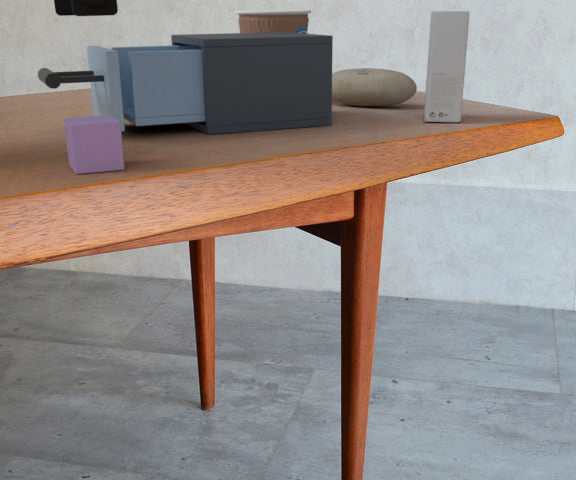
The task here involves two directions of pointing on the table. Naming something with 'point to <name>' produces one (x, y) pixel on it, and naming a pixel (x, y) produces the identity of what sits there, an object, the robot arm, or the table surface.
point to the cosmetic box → (446, 66)
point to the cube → (94, 144)
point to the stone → (372, 87)
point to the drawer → (141, 83)
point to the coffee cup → (273, 21)
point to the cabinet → (264, 80)
